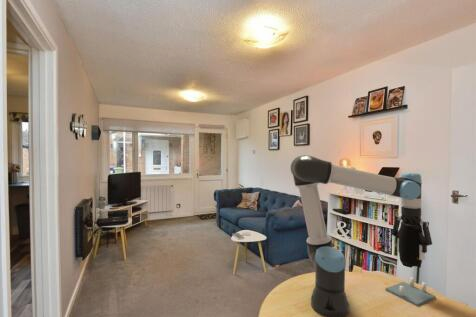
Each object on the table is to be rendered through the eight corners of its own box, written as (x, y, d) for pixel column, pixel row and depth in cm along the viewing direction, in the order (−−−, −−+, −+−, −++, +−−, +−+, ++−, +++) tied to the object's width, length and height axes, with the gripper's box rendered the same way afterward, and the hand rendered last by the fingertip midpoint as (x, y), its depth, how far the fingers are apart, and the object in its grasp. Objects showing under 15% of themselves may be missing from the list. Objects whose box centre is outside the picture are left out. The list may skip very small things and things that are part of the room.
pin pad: (417, 306, 106) (417, 294, 106) (385, 290, 118) (385, 279, 118) (435, 298, 112) (435, 287, 112) (403, 283, 124) (403, 273, 124)
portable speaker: (425, 270, 109) (426, 226, 109) (400, 267, 113) (401, 224, 112) (419, 262, 117) (420, 221, 117) (396, 259, 121) (396, 219, 120)
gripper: (443, 210, 107) (442, 263, 107) (392, 202, 126) (392, 246, 126) (433, 212, 103) (432, 266, 103) (383, 203, 123) (382, 248, 123)
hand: (410, 255), depth 115 cm, fingers closed on portable speaker, 9 cm apart
